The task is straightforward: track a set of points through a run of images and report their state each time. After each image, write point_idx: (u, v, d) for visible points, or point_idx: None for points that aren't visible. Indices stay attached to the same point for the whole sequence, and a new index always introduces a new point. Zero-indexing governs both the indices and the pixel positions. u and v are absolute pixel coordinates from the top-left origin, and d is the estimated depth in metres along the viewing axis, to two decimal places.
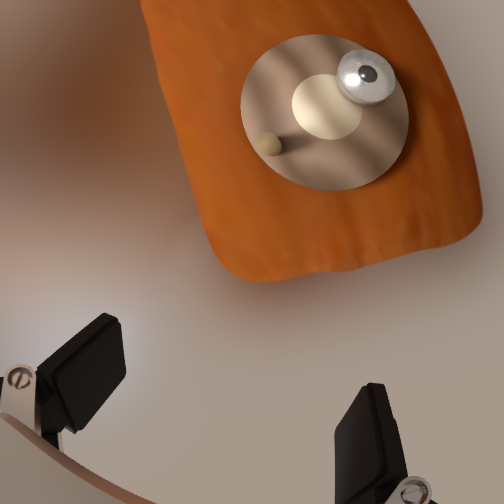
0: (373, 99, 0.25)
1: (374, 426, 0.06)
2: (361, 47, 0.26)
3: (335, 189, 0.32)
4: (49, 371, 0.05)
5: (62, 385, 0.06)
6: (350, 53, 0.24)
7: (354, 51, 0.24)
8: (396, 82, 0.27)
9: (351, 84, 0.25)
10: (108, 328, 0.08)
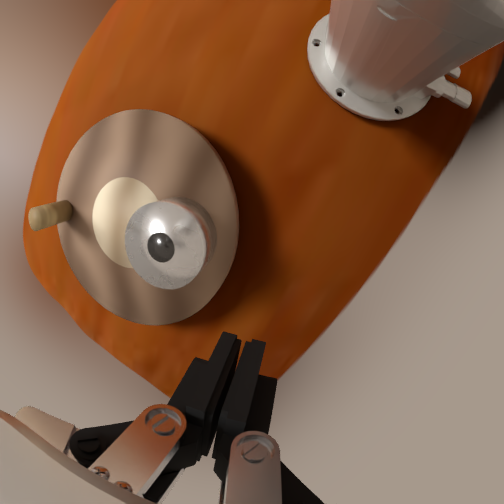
0: (140, 275, 0.21)
1: (235, 374, 0.08)
2: (228, 198, 0.22)
3: (85, 288, 0.28)
4: (204, 406, 0.06)
5: None
6: (166, 206, 0.19)
7: (174, 208, 0.19)
8: (222, 273, 0.24)
9: (132, 240, 0.21)
10: (235, 347, 0.09)
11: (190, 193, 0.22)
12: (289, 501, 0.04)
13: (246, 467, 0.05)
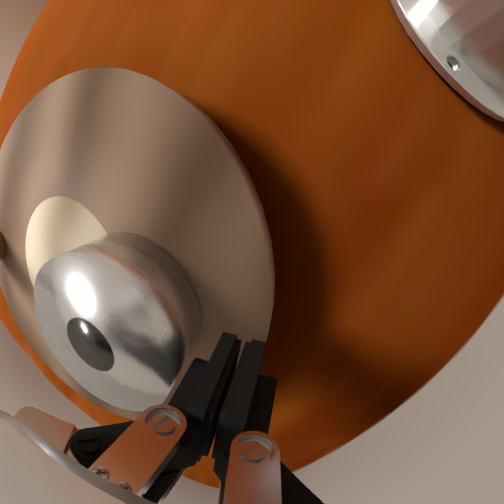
0: (71, 374, 0.10)
1: (235, 374, 0.08)
2: (258, 252, 0.10)
3: (37, 353, 0.16)
4: (204, 406, 0.06)
5: None
6: (85, 270, 0.07)
7: (99, 277, 0.07)
8: None
9: (45, 318, 0.09)
10: (235, 347, 0.09)
11: (174, 235, 0.10)
12: (289, 501, 0.04)
13: (246, 467, 0.05)
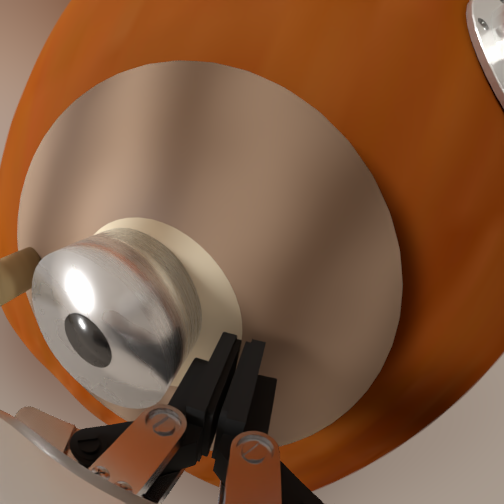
0: (68, 370, 0.10)
1: (235, 374, 0.08)
2: (395, 287, 0.09)
3: (83, 386, 0.15)
4: (204, 406, 0.06)
5: None
6: (84, 264, 0.07)
7: (98, 272, 0.07)
8: (347, 404, 0.11)
9: (43, 313, 0.09)
10: (235, 347, 0.09)
11: (313, 272, 0.10)
12: (289, 501, 0.04)
13: (246, 467, 0.05)
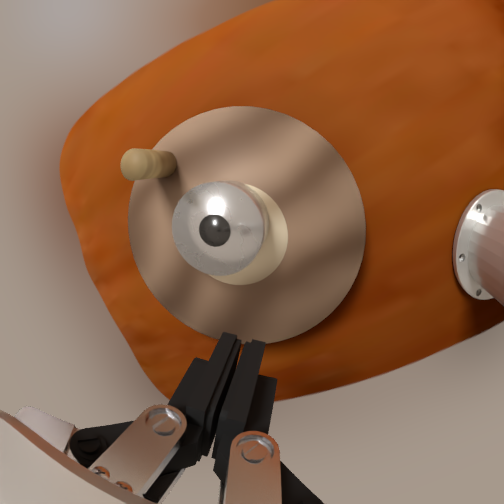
0: (174, 237, 0.21)
1: (235, 374, 0.08)
2: (346, 287, 0.23)
3: (133, 252, 0.26)
4: (204, 406, 0.06)
5: None
6: (248, 202, 0.19)
7: (254, 210, 0.19)
8: (294, 333, 0.25)
9: (190, 202, 0.20)
10: (235, 348, 0.09)
11: (321, 261, 0.22)
12: (289, 501, 0.04)
13: (246, 467, 0.05)
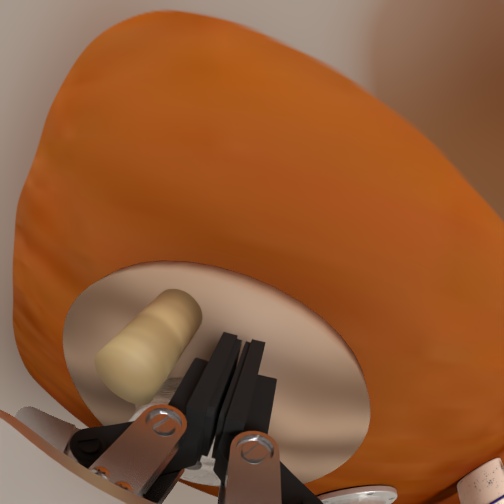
0: None
1: (235, 374, 0.08)
2: None
3: (66, 325, 0.15)
4: (204, 406, 0.06)
5: None
6: None
7: None
8: None
9: None
10: (235, 348, 0.09)
11: None
12: (289, 501, 0.04)
13: (245, 467, 0.05)
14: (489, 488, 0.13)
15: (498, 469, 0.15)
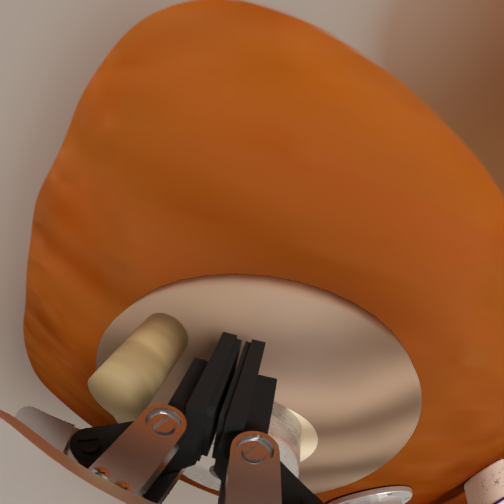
0: None
1: (235, 374, 0.08)
2: (343, 484, 0.15)
3: None
4: (204, 406, 0.06)
5: None
6: None
7: None
8: None
9: None
10: (235, 347, 0.09)
11: (332, 471, 0.14)
12: (289, 501, 0.04)
13: (246, 467, 0.05)
14: (496, 487, 0.13)
15: (503, 469, 0.15)
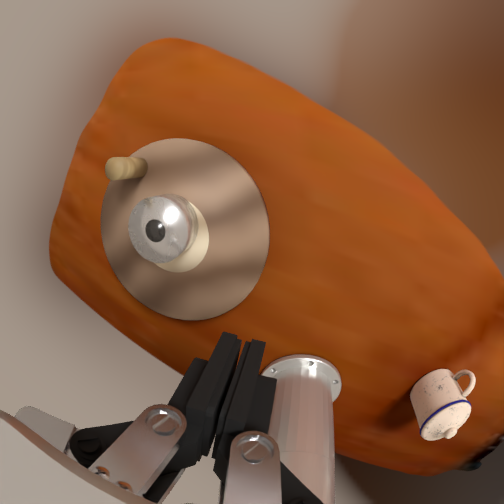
0: (129, 226, 0.27)
1: (235, 374, 0.08)
2: (241, 297, 0.31)
3: (101, 223, 0.32)
4: (204, 406, 0.06)
5: None
6: (181, 220, 0.26)
7: (183, 226, 0.26)
8: (197, 317, 0.33)
9: (144, 206, 0.26)
10: (235, 348, 0.09)
11: (227, 273, 0.31)
12: (289, 501, 0.04)
13: (246, 467, 0.05)
14: (439, 392, 0.29)
15: (448, 377, 0.31)
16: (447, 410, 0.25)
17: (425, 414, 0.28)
